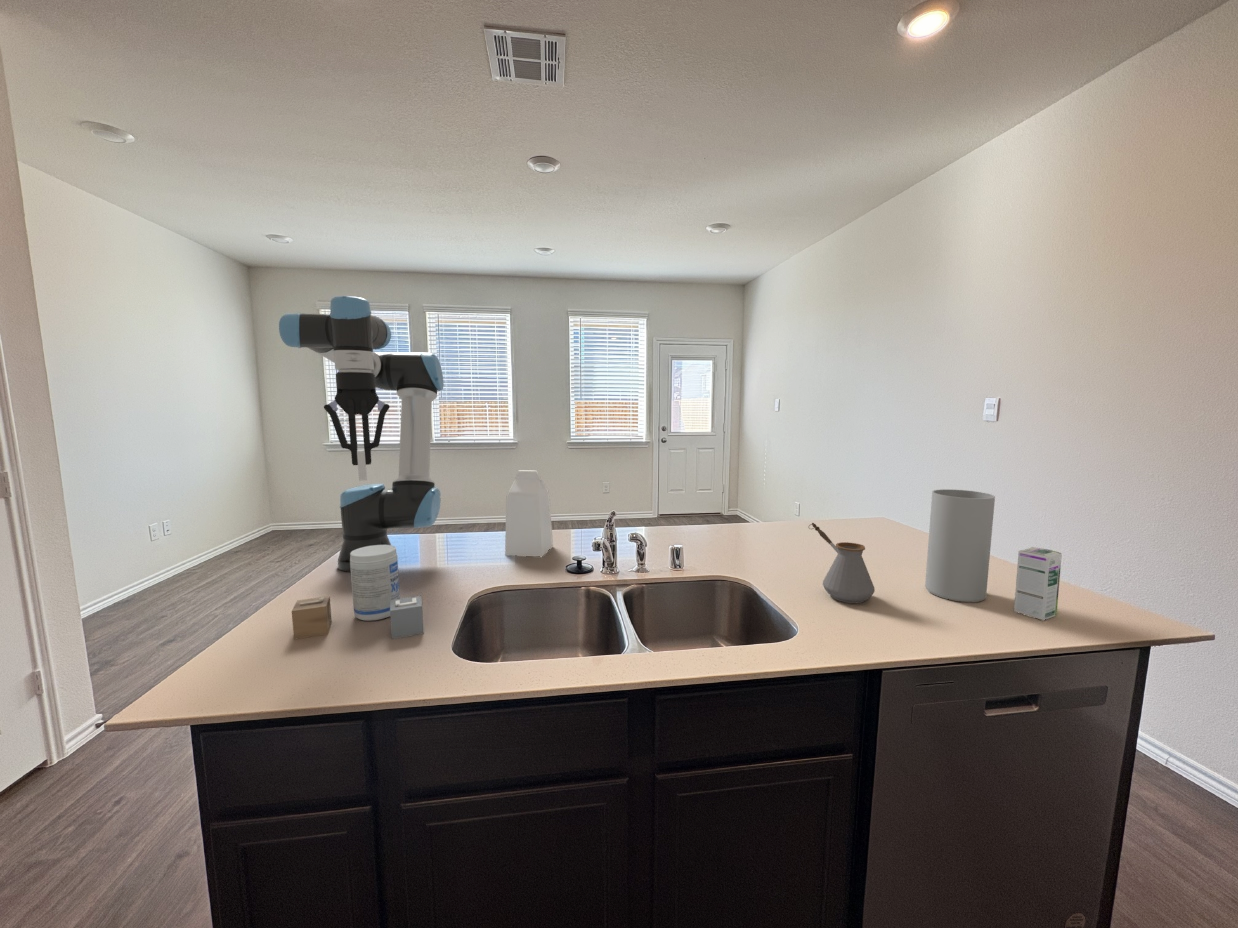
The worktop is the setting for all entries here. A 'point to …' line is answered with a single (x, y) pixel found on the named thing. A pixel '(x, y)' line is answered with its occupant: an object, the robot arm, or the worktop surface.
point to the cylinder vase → (959, 544)
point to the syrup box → (1037, 582)
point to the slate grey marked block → (406, 617)
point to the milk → (528, 516)
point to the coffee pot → (847, 572)
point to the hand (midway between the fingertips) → (363, 479)
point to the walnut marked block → (311, 617)
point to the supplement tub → (374, 581)
